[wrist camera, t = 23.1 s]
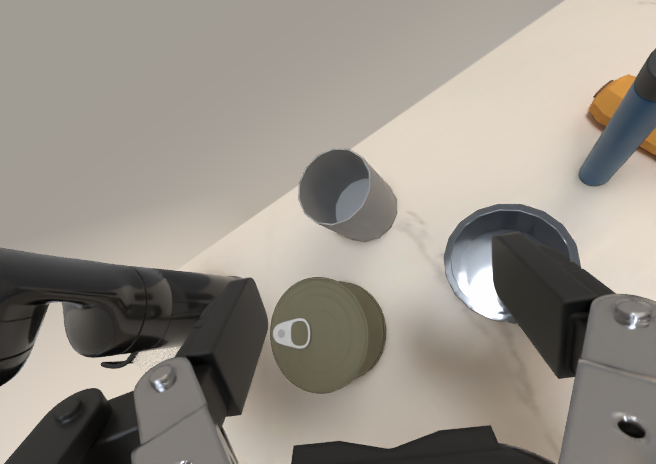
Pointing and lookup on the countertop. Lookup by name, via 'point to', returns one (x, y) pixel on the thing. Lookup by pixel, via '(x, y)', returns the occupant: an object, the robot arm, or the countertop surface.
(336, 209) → the cup
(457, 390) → the countertop surface
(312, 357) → the can
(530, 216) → the pen pot
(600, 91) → the carrot
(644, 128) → the marker
